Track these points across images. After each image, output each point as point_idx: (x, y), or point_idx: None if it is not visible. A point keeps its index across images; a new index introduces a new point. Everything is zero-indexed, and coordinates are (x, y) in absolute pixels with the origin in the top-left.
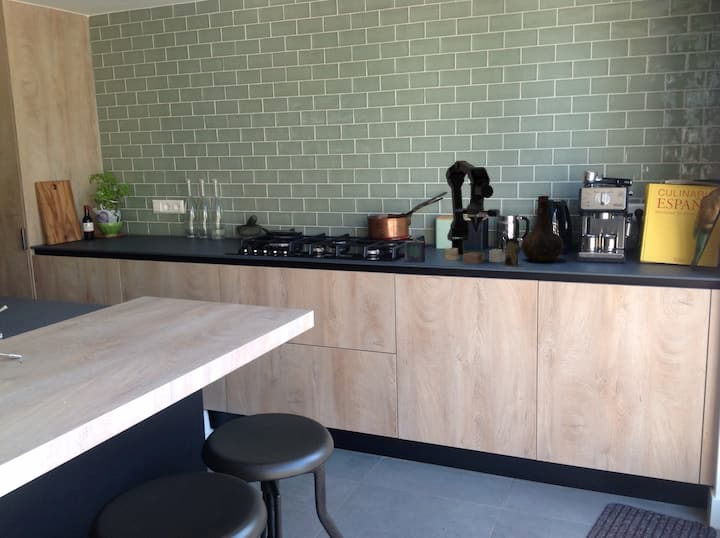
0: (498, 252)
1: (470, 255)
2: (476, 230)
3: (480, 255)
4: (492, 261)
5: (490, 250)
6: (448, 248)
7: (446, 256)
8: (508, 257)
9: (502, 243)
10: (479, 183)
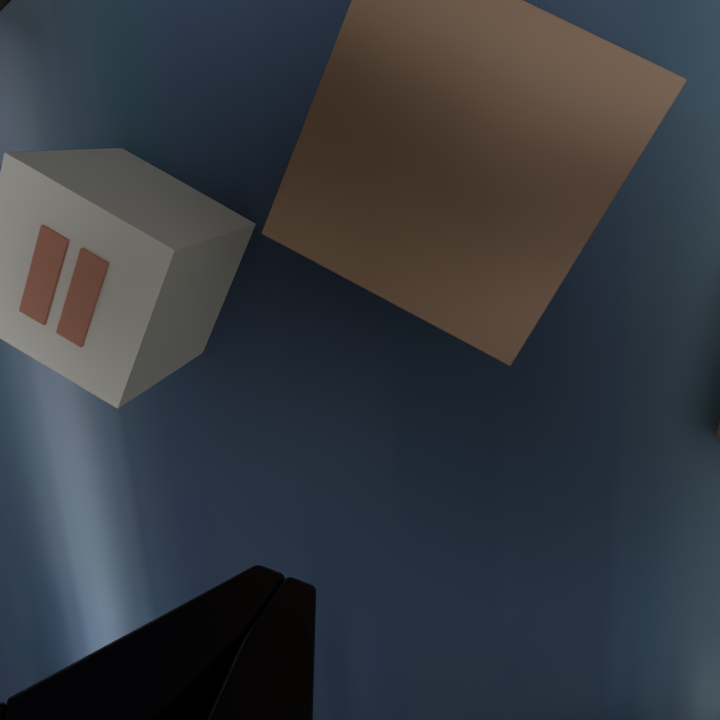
0: (39, 162)
1: (517, 2)
2: (260, 600)
3: (330, 75)
4: (210, 200)
5: (155, 239)
6: None
7: None
8: None
9: None
10: None
